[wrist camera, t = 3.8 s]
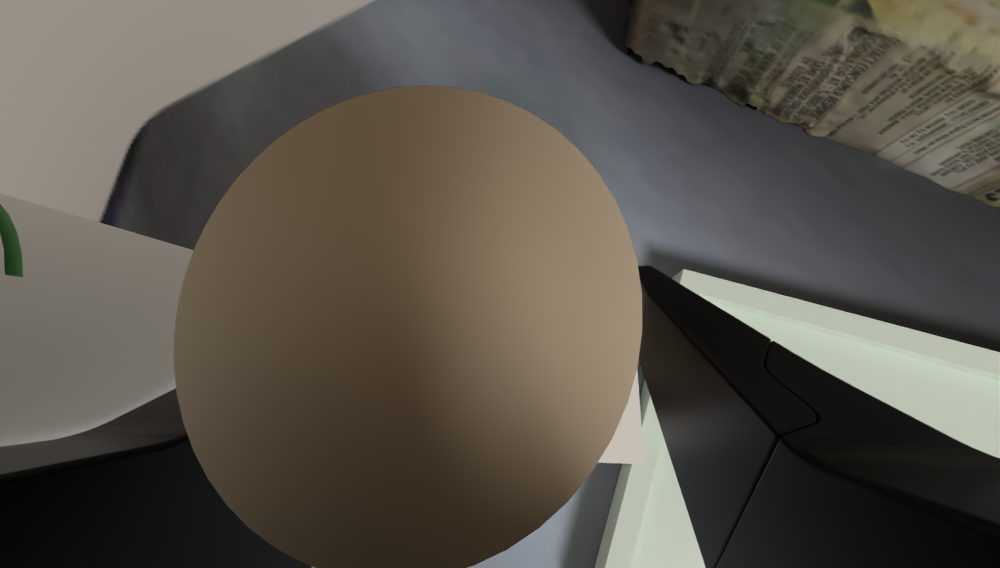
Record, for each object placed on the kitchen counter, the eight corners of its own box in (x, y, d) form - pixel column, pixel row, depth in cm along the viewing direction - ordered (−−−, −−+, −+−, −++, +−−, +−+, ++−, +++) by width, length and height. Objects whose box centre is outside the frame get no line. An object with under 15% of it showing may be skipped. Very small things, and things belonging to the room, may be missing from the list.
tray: (1019, 817, 12) (1090, 888, 10) (583, 609, 14) (585, 639, 13) (1066, 383, 14) (1131, 387, 12) (672, 277, 16) (683, 268, 15)
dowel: (525, 407, 16) (308, 708, 2) (477, 342, 17) (113, 269, 3) (589, 357, 16) (772, 344, 2) (538, 294, 17) (441, 7, 3)
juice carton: (1168, 53, 15) (1550, -140, 9) (1065, 250, 15) (1408, 176, 9) (703, -76, 20) (759, -254, 14) (610, 66, 20) (630, -60, 14)
